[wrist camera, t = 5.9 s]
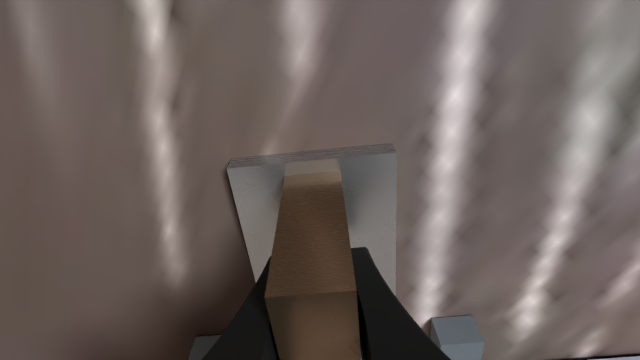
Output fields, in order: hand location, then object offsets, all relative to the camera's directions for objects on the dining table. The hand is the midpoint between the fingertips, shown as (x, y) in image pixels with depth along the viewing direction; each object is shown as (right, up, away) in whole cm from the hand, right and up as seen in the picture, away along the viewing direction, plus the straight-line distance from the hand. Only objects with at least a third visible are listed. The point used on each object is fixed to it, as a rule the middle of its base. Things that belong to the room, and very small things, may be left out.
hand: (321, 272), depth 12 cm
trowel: (0, +1, +2) cm, 3 cm away
